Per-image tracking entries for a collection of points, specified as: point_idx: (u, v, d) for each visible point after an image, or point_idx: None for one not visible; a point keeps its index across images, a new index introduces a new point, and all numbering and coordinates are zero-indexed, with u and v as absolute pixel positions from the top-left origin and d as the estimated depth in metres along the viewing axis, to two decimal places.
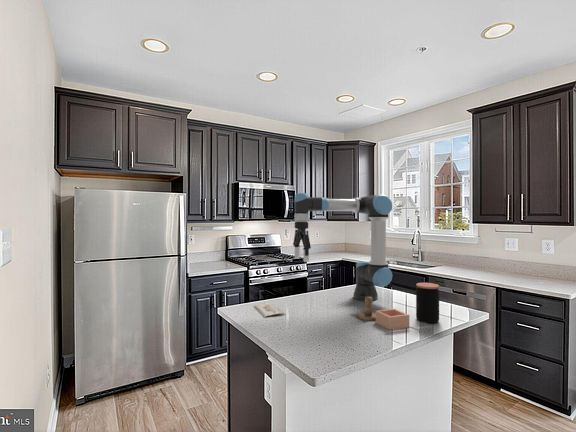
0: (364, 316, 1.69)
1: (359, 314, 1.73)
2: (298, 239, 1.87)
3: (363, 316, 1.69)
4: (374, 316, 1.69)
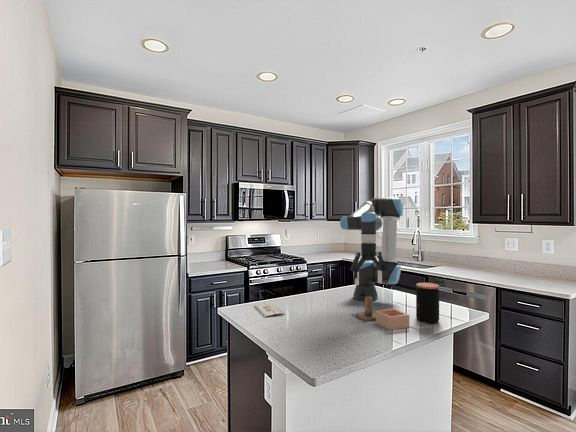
0: (364, 316, 1.69)
1: (359, 314, 1.73)
2: (374, 261, 1.73)
3: (363, 316, 1.69)
4: (374, 316, 1.69)
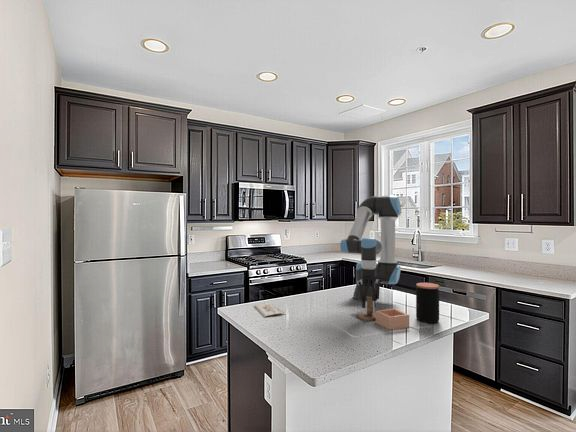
0: (364, 316, 1.69)
1: (359, 314, 1.73)
2: (370, 288, 1.73)
3: (363, 316, 1.69)
4: (374, 316, 1.69)
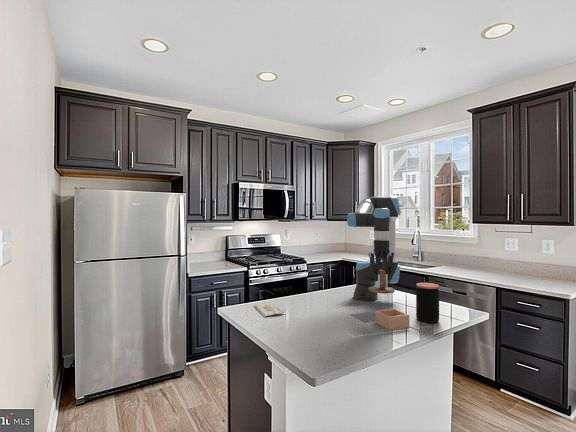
0: (377, 289, 1.62)
1: (371, 288, 1.65)
2: (383, 261, 1.65)
3: (376, 289, 1.62)
4: (387, 289, 1.62)
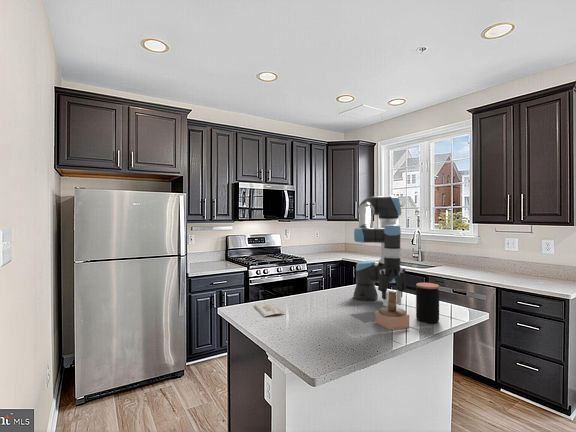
0: (388, 312, 1.57)
1: (382, 310, 1.61)
2: (395, 279, 1.61)
3: (387, 312, 1.57)
4: (398, 312, 1.57)
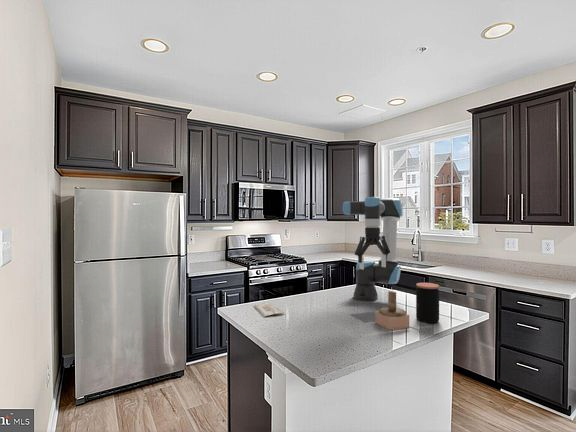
0: (388, 312, 1.57)
1: (382, 310, 1.61)
2: (378, 246, 1.74)
3: (387, 312, 1.57)
4: (398, 312, 1.57)
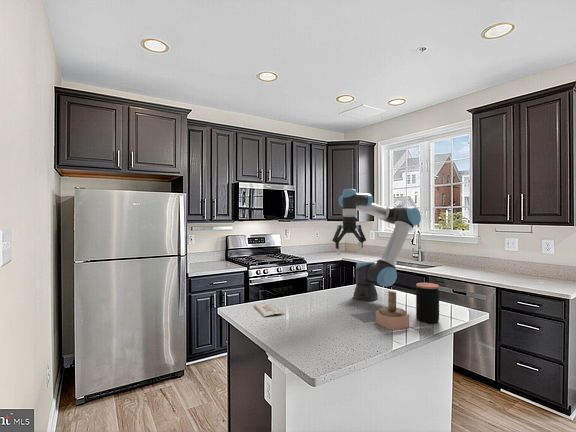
0: (388, 312, 1.57)
1: (382, 310, 1.61)
2: (354, 234, 1.90)
3: (387, 312, 1.57)
4: (398, 312, 1.57)
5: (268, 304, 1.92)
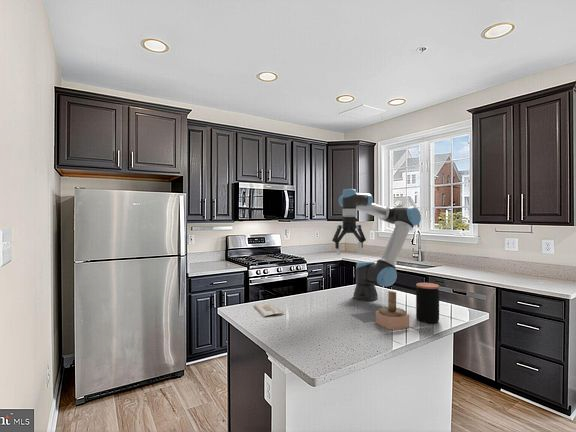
0: (388, 312, 1.57)
1: (382, 310, 1.61)
2: (354, 234, 1.90)
3: (387, 312, 1.57)
4: (398, 312, 1.57)
5: (268, 304, 1.92)
